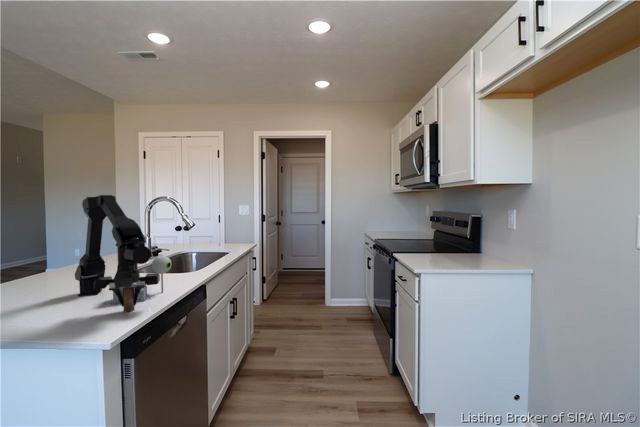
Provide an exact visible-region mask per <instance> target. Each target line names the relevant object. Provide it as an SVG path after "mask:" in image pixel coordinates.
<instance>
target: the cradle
mask: <svg viewBox="0 0 640 427" xmlns="http://www.w3.org/2000/svg"><path fill="white" fill-rule="evenodd" d="M136 285H137V284H136V283H132V286H134V287H135V286H136ZM134 293H135V289H134ZM148 297H149V293H148V285H146V286H145V287H144V288H142V289H141V291H140V294H139V297H138V300H137V302H138V303H139V302H145V301H146V300H147V299H148ZM116 304H118V305H119V304H121V303H120V301H119V299H118V297H117V295H116V294H115V292H113V291H112V300H111V302H109V305H116Z"/></svg>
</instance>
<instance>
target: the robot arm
mask: <svg viewBox="0 0 640 427" xmlns="http://www.w3.org/2000/svg"><path fill="white" fill-rule="evenodd" d="M81 205H82V208H83V212H84V214H85V216H86V217H87V229H86V230H87V231H86V240H85V241H86V242H85V252H84V255H83V256H81V258H80V259H79V262H78V266H77V267H76V270H75V273H74V278H75V280H76V281H78V282H79V285H78V286H79V294H78V295H77V296H78V297H83V296H84V297H85V296H95V295H99V294H100V293H101V292H102V291H103V289H106V288H107V287H109V288H108V290H109V291H112V293H113V292H115V294H116V295H117V297H118V299H119V301H120V303H119V304H120V306H121V307H123V308H124V303H123V287H130V286H132V283H135V284H137V285H136V286H135V287H134V289H135V293H134V305H135V306H136V305H137V300H138V297H139V294H140V291H141V289H142V288H144V287H145V286H153V285H159V282H160V281H161V274H159V273H156V272H154V273H153V272H151V273H147V274H146V275H145V276H141V275H140V271H139V270H138V269H139V268H138V265H144V264H146V263H147V262H149V261H150V259H151V258H152V251H151V249H150V248H149V247H147V246H145V244H146V237H145V234H144V233H143V231H142V229H141V227H140V225H139V224H138V223H137V222H136V221H135V220H134V219H131V218H129V217H128V216H127V215H126V213H124V211H123V209H122V208H121V206H120V205H119V203H118V202H117V199H116V196H115V195H112V194H99V195H97V196H87V197H86V198H84V199H83V200H82V202H81ZM106 218H108V220H109V223H111V225H112V230H111V235H112V237H113V239H114V240H115V243H116V244H115V246H116V247H117V248H116V249H117V250H116V251H117V252H116V253H117V266H116V267H117V268H116V272H115V275H114V277H112V276H111V275H110V276H108V275H107V276H105V273H106V261H105V260H104V258H103V257H102V256H101V248H102V247H101V245H102V235H103V226H104V225H103V224H104V220H105V219H106Z"/></svg>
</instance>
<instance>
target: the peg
mask: <svg viewBox="0 0 640 427" xmlns="http://www.w3.org/2000/svg"><path fill="white" fill-rule="evenodd" d="M123 303H124V306H123V312H124V313H131V312H133V311H135V306H136V305H134V286H130V287H123Z"/></svg>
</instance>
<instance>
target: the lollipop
mask: <svg viewBox="0 0 640 427" xmlns="http://www.w3.org/2000/svg"><path fill="white" fill-rule="evenodd" d="M171 267H172V260H171V259H170V258H169V257H168V256H165V255H159V256H156V257H155V258H154V259H153V261H152V263H151V268H152V271H154V273H158V274H159V275H160V281H161V282H160V285H161V293H162V294H163V293H164V274H165V273H166V274H167V272H169V271H170V269H171Z"/></svg>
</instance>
